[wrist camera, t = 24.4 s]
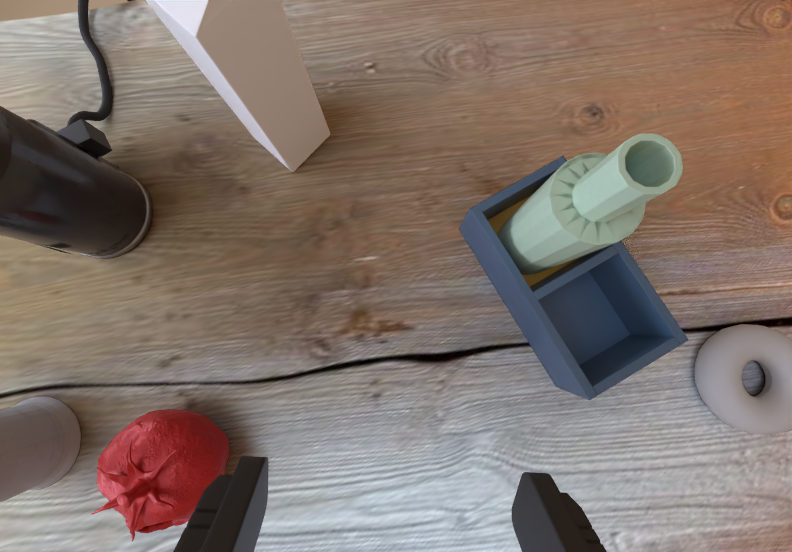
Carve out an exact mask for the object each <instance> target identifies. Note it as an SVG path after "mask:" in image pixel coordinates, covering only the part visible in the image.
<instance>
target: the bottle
mask: <svg viewBox="0 0 792 552" xmlns="http://www.w3.org/2000/svg"><path fill="white" fill-rule="evenodd" d="M682 173H683V166H682V156H681V154H680V153H679V151H678V150H677V148H676V147H675V146H674V144H673V143H672V142H671V141H670V140H668V139H666V138H664V137H662V136H660V135H658V134H637V135H635V136H633V137H631V138H630V139H628V140H626V141H625V142H623V143H622V144H621V145H620V146H619V147H617V148H616V149H615V150H614V151H613V152H611V153H610V154H609V155H606V154H602V153H589V154H581V155H578V156H576V157H574V158H572V159H571V160H569V161H567V162H565V163H564V164H563V165H562V166H561V167H560V168H559V169H558V170H557V171H556V172H555V173H554V174H553V175H552V176H551V177H550V178H549V179H548V180H547V181H546V182H545V183H544V184H543V185H542V186H541V187H540V188H539V189H538V190H537V191H536V192H535V193H534V194H533V195H532V196H531V197H530V198H529V199H528V200H527V201H526V202H525V203H524V204H523V205H522V206H521V207H520V208H519V209H518V210H517V211H516V212H515V213H514V214H513V215H512V216H511V217H510V218H509V219H508V220H507V221H506V222H505V224H504V225H503V226H502V227H501V229H500V230H499V232H498V234H497V236H498V238H499V239H500V241H501V242H502V244H503V246H504V247H505V249H506V250H507V252H508V254H509V255H510V257H511V258H512V260H513V262H514V263H515V265H516V266H517V268H518V269H519V271H520V273H521V274H523V275H531V274H535V273H540V272H542V271H545V270H547V269H550V268H553V267H555V266H558V265H560V264H563V263H565V262H568V261H571V260H573V259H576V258H578V257H581V256H583V255H586V254H588V253H591V252H594V251H596V250H599V249H601V248H604V247H606V246H609V245H612V244H614V243H617V242H619V241H620V240H622V239H624V238H625V237H627V236H629V235H631V234H632V233H633V232H634V231H635V229H636V228H637V226H638V225H639V224H640V222H641V221H642V219H643V217H644V211H645V206H646V202H647V201H649V200H651V199H653V198H655V197H657V196H659V195H661V194H663V193H665V192H666V191H668V190H670V189H671V188H673V187H675V186H676V184H677V182H678V180H679V178H680V176H681V174H682Z"/></svg>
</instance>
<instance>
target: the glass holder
mask: <svg viewBox="0 0 792 552" xmlns="http://www.w3.org/2000/svg"><path fill="white" fill-rule="evenodd" d="M80 443H81V432H80V427H79V423H78V420H77V418H76V416H75V414H74V413H73V411H72V410H71V409H70V408H69V407H68V406H67V405H66V404H64V403H63V402H61V401H60V400H57V399H54V398H51V397H34V398H30V399H27V400H24V401H22V402H20V403H18V404H17V405H15V406H13V407H8V408H4V409H0V502H2V501H4V500H7V499H9V498H11V497H14V496H16V495H18V494H20V493H23V492H25V491H27V490H38V489H43V488H45V487H48V486H51V485H52V484H54V483H56V482H57V481H59V480H60V479H61V478H62V477H64V476H65V475H66V473H67V472H68V471H69V470H70V469H71V467H72V466H73V464H74V462H75V460H76V458H77V456H78V453H79V449H80Z"/></svg>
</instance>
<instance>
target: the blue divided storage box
mask: <svg viewBox="0 0 792 552" xmlns="http://www.w3.org/2000/svg"><path fill="white" fill-rule="evenodd" d="M565 162H567V160H566V159H565V157H564V156H562V157H560V158H558V159H557V160H555V161H553V162H551V163H549V164H548V165H546V166H544V167H542V168H541V169H539V170H537V171H535V172H534V173H532V174H530V175H528V176H527V177H525V178H523V179H521V180H520V181H518V182H516V183H514V184H513V185H511V186H509V187H507V188H505V189H504V190H502V191H500V192H498V193H497V194H495V195H493V196H491V197H490V198H488V199H486V200H484V201H483V202H481V203H479V204H478V205H476V206H474V207H472V208H470V210H469V211H468V213H467V215H466V217H465V218H464V220H463V222H462V224H461V225H460V227H459V230H460V232H461V233H462V235H463V237H464V238H465V240H466V241H467V243H468V245H469V246H470V248H471V249H472V251H473V253H474V254H475V256H476V258H477V259H478V261H479V262H480V264H481V266H482V267H483V269H484V271H485V272H486V274H487V275H488V277H489V279H490V280H491V282H492V284H493V285H494V287H495V288H496V290H497V292H498V293H499V295H500V297H501V298H502V300H503V301H504V303H505V305H506V306H507V308H508V309H509V311H510V313H511V314H512V316H513V318H514V319H515V321H516V322H517V324H518V326H519V327H520V329H521V331H522V332H523V334H524V335H525V337H526V339H527V340H528V342H529V344H530V345H531V347H532V348H533V350H534V352H535V353H536V355H537V357H538V358H539V360H540V361H541V363H542V365H543V366H544V368H545V369H546V371H547V373H548V374H549V376H550V378H551V379H552V381H553V382H554V384H555V386H556V387H558V388H561V389H563V390H566V391H568V392H571V393H573V394H576V395H578V396H581V397H583V398H586V399H588V400H591V399H593V398H594V397H596V396H597V395H599V394H601V393H602V392H604V391H606V390H607V389H609V388H611V387H612V386H614V385H616V384H617V383H619V382H620V381H622V380H624V379H625V378H627V377H629V376H630V375H632V374H634V373H635V372H637V371H638V370H640V369H642V368H643V367H645V366H647V365H648V364H650V363H652V362H653V361H655V360H657V359H658V358H660V357H661V356H663V355H665V354H666V353H668V352H670V351H671V350H673V349H675V348H676V347H678V346H679V345H681V344H683V343H685V342H686V341H688V338H687V337H686V335H685V334H684V332H683V331H682V330H681V328H680V327H679V325H678V324H677V322H676V321H675V319H674V318H673V316H672V315H671V313H670V312H669V310H668V309H667V307H666V306H665V304H664V303H663V302H662V300H661V299H660V297H659V296H658V294H657V293H656V291H655V290H654V288H653V287H652V285H651V284H650V282H649V281H648V279H647V278H646V276H645V275H644V274H643V272H642V271H641V269H640V268H639V266H638V265H637V263H636V262H635V260H634V259H633V257H632V256H631V254H630V253H629V251H628V250H627V248H626V247H625V246H624V244H623V243H622V241H621V240H620V241H619V242H617V243H614V244H612V245H609V246H606V247H604V248H601V249H599V250H596V251H594V252H591V253H588V254H586V255H583V256H581V257H578V258H576V259H573V260H571V261H568V262H565V263H563V264H560V265H558V266H555V267H553V268H550V269H547V270H545V271H542V272H540V273H535V274H531V275H523V274H521V273H520V271H519V269H518V268H517V266H516V265H515V263H514V262H513V260H512V258H511V257H510V255H509V254H508V252H507V250H506V249H505V247H504V246H503V244H502V242H501V241H500V239H499V238H498V236H497V234H498V232H499V230H500V229H501V227H502V226H503V225H504V224H505V222H506V221H507V220H508V219H509V218H510V217H511V216H512V215H513V214H514V213H515V212H516V211H517V210H518V209H519V208H520V207H521V206H522V205H523V204H524V203H525V202H526V201H527V200H528V199H529V198H530V197H531V196H532V195H533V194H534V193H535V192H536V191H537V190H538V189H539V188H540V187H541V186H542V185H543V184H544V183H545V182H546V181H547V180H548V179H549V178H550V177H551V176H552V175H553V174H554V173H555V172H556V171H557V170H558V169H559V168H560V167H561V166H562V165H563V164H564V163H565Z"/></svg>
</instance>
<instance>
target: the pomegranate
mask: <svg viewBox="0 0 792 552" xmlns="http://www.w3.org/2000/svg"><path fill="white" fill-rule="evenodd" d="M229 445H230V443H229V440H228V438H227V436H226V434H225V433H224V432H223V431H222V430H221V429H220V428H219V427H217V426H216V425H215V424H214V423H213V422H212V420H211V419H209V418H208V417H207V416H205V415H202V414H198V413H195V412H192V411H188V410H175V409H172V410H171V409H168V410H157V411H153V412H149V413H147V414H145V415H143V416H140V417H139V418H137V419H136V420H135V421H133V422H132V423H131V424H130V425H129V426H127V427H126V428H124V429H123V430H122V431H121V432H120V433H118V434H117V435H116V436H115V437H114V438H113V440H112V441H111V442H110V444H109V445H108V447H107V448H106V449H105V450H104V451H103V452H102V454H101V456H100V457H99V460H98V467H97V469H98V472H97V485H98V489H99V491H100V492H101V493H102V494H103V495H104V496H105V497H106V498H107V499H108V500H109V502H108V503H107V504H105V505H104V506H102V507H101V508H100V509H98V510H97V511H96V512H94V513H92V514H95V513H97V512H100V511H102V510H107V509H110V508H114V509H115V510H116V511H118V512H119V513H121V514H122V515H123V516H124V517H125V518H126V525H127V527H128V528H129V529H130V533H131V534H132V541H133V540H134V537H135V531H138V532H140V533H150V532H153V531H156V530H163V529H166V528H168V527H170V526H173V525H174V526H176V525H181V524H184V523H185V522H187V521H189V520H190V518H191V516H192V514H193V512H194V511H195V508H196V506H197V504H198V501H199V499H200V497H201V495H202V493H203V491H204V490H205V489H206V488H207V487H208V486H209V485H210V484H211V483H212V482H213V481H214V480H215V479H216V478H217V477H218V476H219V475H224V473H225V469H226V468H225V467H226V463H227V460H228V457H229V455H230V449H229Z"/></svg>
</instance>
